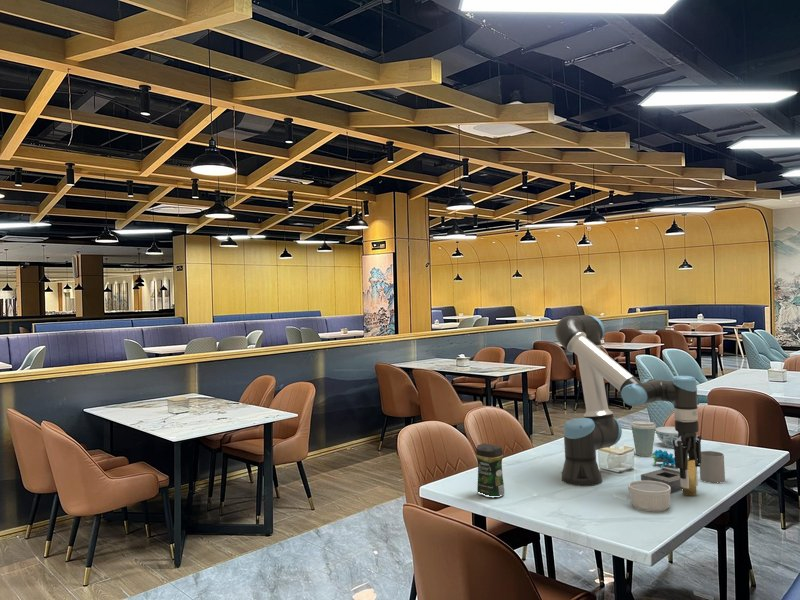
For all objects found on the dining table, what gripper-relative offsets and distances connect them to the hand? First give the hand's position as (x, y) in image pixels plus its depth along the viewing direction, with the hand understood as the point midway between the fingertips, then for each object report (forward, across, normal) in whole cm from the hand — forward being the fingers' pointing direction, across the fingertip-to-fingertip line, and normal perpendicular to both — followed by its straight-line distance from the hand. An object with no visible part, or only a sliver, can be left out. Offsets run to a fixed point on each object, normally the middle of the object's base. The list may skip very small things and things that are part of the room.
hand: (689, 485), depth 205 cm
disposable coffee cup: (+4, +35, +44) cm, 56 cm away
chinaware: (+4, +59, +46) cm, 75 cm away
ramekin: (+3, -21, +1) cm, 21 cm away
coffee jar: (+4, -55, +43) cm, 70 cm away
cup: (+3, +22, +5) cm, 23 cm away
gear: (+3, +26, +27) cm, 37 cm away
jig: (+3, +3, +11) cm, 12 cm away
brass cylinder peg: (+3, 0, 0) cm, 3 cm away
